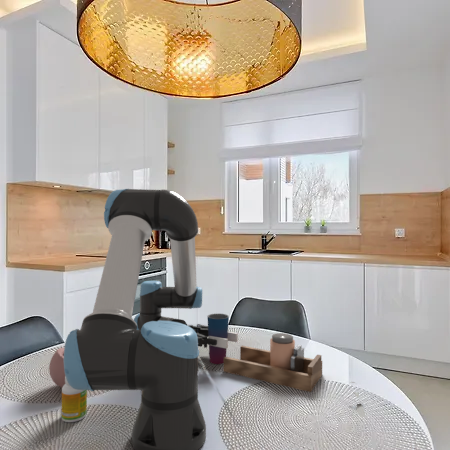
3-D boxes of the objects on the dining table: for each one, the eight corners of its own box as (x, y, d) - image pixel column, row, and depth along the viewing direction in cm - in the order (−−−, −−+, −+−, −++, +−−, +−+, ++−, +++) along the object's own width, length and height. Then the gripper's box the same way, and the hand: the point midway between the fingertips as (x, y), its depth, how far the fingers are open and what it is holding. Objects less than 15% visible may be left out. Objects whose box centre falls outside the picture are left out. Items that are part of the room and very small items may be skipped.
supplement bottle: (83, 422, 80) (84, 379, 80) (58, 424, 79) (58, 380, 79) (88, 409, 85) (89, 369, 85) (65, 411, 84) (65, 370, 84)
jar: (298, 378, 101) (299, 339, 100) (276, 381, 99) (276, 341, 99) (287, 369, 107) (288, 331, 107) (266, 371, 105) (266, 333, 105)
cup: (218, 369, 108) (218, 320, 108) (202, 363, 113) (203, 316, 113) (232, 363, 113) (233, 316, 113) (217, 357, 118) (217, 312, 118)
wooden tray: (223, 374, 105) (223, 351, 105) (241, 360, 116) (242, 339, 116) (310, 395, 93) (311, 368, 93) (322, 377, 104) (322, 353, 104)
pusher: (290, 383, 97) (290, 351, 97) (300, 371, 105) (300, 342, 105) (294, 384, 96) (294, 352, 96) (303, 371, 105) (304, 342, 104)
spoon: (360, 388, 98) (360, 382, 98) (375, 430, 78) (375, 422, 78) (344, 386, 99) (345, 380, 99) (355, 427, 79) (355, 420, 79)
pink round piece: (99, 391, 94) (99, 348, 94) (48, 401, 88) (49, 355, 88) (94, 374, 105) (94, 335, 105) (49, 382, 99) (49, 341, 99)
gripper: (188, 333, 130) (245, 343, 119) (154, 348, 113) (216, 362, 102) (188, 312, 130) (245, 321, 119) (154, 325, 113) (217, 336, 102)
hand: (232, 340), depth 111 cm, fingers closed on cup, 6 cm apart
